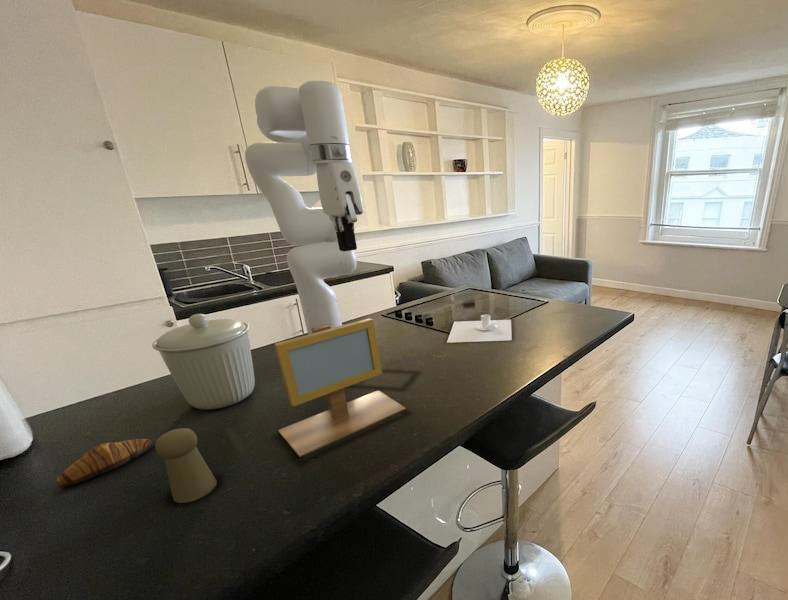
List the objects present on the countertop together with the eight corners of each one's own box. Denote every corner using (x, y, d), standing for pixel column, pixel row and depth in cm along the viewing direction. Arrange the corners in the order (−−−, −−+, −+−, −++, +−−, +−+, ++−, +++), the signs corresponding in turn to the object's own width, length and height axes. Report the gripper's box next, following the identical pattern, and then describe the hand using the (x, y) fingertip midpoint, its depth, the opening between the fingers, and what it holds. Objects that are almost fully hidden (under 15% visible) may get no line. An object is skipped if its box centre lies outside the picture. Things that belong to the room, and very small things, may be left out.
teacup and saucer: (498, 331, 132) (497, 319, 130) (473, 332, 132) (472, 320, 130) (498, 323, 140) (498, 311, 138) (475, 323, 140) (474, 312, 139)
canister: (159, 412, 92) (123, 324, 84) (232, 377, 108) (207, 300, 100) (215, 425, 86) (182, 331, 78) (284, 386, 102) (262, 305, 94)
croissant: (68, 497, 67) (54, 472, 65) (53, 484, 70) (40, 460, 69) (162, 451, 78) (153, 429, 76) (146, 442, 81) (136, 421, 79)
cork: (187, 479, 70) (165, 424, 66) (224, 475, 71) (204, 421, 67) (164, 504, 65) (138, 446, 61) (203, 501, 65) (180, 443, 61)
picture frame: (290, 404, 75) (274, 343, 70) (378, 371, 86) (369, 317, 82) (292, 406, 74) (276, 345, 69) (382, 373, 85) (373, 319, 81)
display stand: (279, 436, 81) (251, 338, 74) (379, 395, 95) (364, 309, 87) (301, 462, 73) (271, 355, 65) (407, 414, 87) (393, 321, 79)
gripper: (367, 153, 77) (381, 250, 84) (334, 158, 88) (349, 245, 94) (328, 152, 73) (346, 256, 80) (298, 158, 83) (317, 249, 90)
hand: (348, 250), depth 87 cm, fingers closed
